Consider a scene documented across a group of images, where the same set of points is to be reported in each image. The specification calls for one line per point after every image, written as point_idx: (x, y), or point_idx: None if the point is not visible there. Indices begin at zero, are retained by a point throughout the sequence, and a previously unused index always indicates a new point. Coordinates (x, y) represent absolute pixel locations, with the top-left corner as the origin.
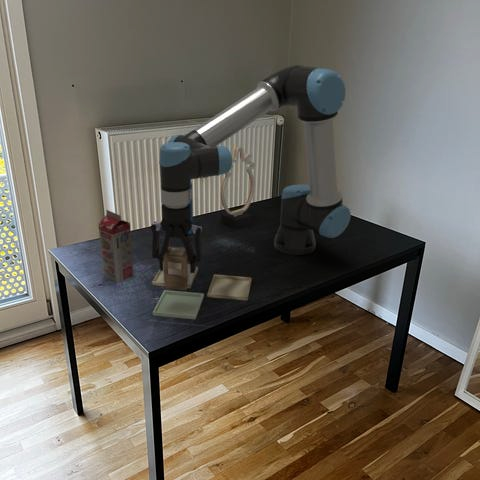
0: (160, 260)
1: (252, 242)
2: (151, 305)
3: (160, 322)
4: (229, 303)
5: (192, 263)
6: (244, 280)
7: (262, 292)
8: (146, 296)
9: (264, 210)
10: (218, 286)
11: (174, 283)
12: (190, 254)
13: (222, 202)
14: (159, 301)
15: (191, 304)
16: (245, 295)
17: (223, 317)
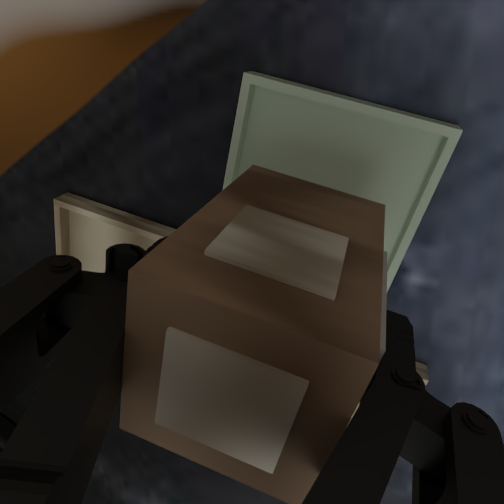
0: (408, 368)
1: (94, 491)
2: (450, 228)
3: (423, 71)
4: (126, 193)
5: (119, 248)
6: None
7: (31, 244)
8: (463, 302)
9: None
10: None
11: (315, 198)
12: (90, 318)
13: None
14: (411, 225)
15: None
16: (72, 227)
17: (139, 93)
